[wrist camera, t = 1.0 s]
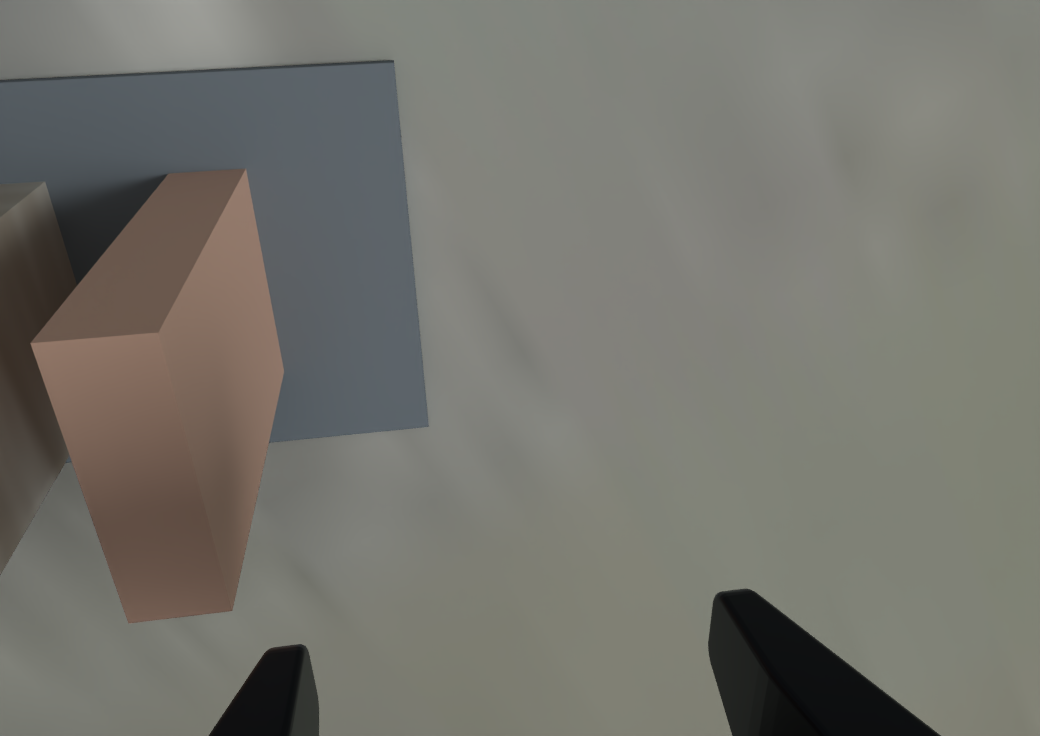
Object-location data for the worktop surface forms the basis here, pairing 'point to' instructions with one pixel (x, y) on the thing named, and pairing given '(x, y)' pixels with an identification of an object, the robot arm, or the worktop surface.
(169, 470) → the domino
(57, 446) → the domino
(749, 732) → the robot arm
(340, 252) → the mat
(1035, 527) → the worktop surface
